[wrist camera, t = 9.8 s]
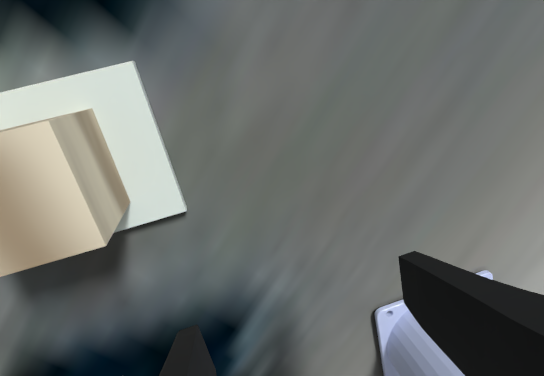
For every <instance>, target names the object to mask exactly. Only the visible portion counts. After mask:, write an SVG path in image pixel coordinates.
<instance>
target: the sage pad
mask: <svg viewBox="0 0 544 376" xmlns="http://www.w3.org/2000/svg"><path fill="white" fill-rule="evenodd" d="M90 108H92V109H93V111H94V114H95V116H96V119H97V121H98V124H99V126H100V128H101V131H102V133H103V136H104V138H105V141H106V143H107V146H108V148H109V151H110V153H111V155H112V158H113V160H114V163H115V165H116V168H117V170H118V173H119V175H120V177H121V180H122V182H123V185H124V187H125V190H126V192H127V195H128V197H129V199H130V203H129V205H128V207H127V209H126V211H125V213H124V214H123V216H122V218H121V220H120V222H119V224H118V225H117V227H116V229H115V231H114V233H115V232H118V231H121V230H125V229H128V228H131V227H135V226H138V225H142V224H145V223H148V222H152V221H155V220H158V219H162V218H165V217H168V216H172V215H175V214H179V213H182V212H185V211H187V206H186V203H185V201H184V198H183V195H182V192H181V190H180V187H179V184H178V181H177V178H176V176H175V173H174V170H173V167H172V164H171V162H170V159H169V156H168V153H167V151H166V148H165V145H164V142H163V139H162V137H161V134H160V131H159V128H158V125H157V123H156V120H155V117H154V114H153V111H152V109H151V106H150V103H149V100H148V98H147V95H146V92H145V89H144V86H143V84H142V81H141V78H140V75H139V72H138V70H137V67H136V64H135V61H130V62H126V63H122V64H117V65H113V66H109V67H105V68H101V69H97V70H92V71H88V72H84V73H80V74H76V75H72V76H68V77H63V78H59V79H55V80H51V81H47V82H43V83H38V84H34V85H30V86H26V87H22V88H18V89H13V90H9V91H5V92H1V93H0V130H3V129H7V128H12V127H16V126H20V125H24V124H28V123H32V122H36V121H41V120H45V119H49V118H53V117H57V116H61V115H66V114H70V113H74V112H78V111H82V110H86V109H90Z"/></svg>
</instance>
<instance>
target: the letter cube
mask: <svg viewBox="0 0 544 376" xmlns="http://www.w3.org/2000/svg"><path fill="white" fill-rule="evenodd" d="M129 203H130V199H129V197H128V195H127V192H126V190H125V187H124V185H123V182H122V180H121V177H120V175H119V173H118V170H117V168H116V165H115V163H114V160H113V158H112V155H111V153H110V151H109V148H108V146H107V143H106V141H105V138H104V136H103V133H102V131H101V128H100V126H99V124H98V121H97V119H96V116H95V114H94V111H93V109H92V108H90V109H86V110H82V111H78V112H74V113H70V114H66V115H61V116H57V117H53V118H49V119H45V120H41V121H36V122H32V123H28V124H24V125H20V126H16V127H12V128H7V129H3V130H0V277H1V276H5V275H8V274H12V273H15V272H18V271H22V270H25V269H29V268H32V267H36V266H39V265H43V264H46V263H49V262H53V261H56V260H60V259H63V258H67V257H70V256H74V255H77V254H80V253H84V252H87V251H91V250H94V249H98V248H101V247H105V246H106V245H107V244H108V242H109V240H110V238H111V236H112V234H113V233H114V231H115V229H116V227H117V225H118V224H119V222H120V220H121V218H122V216H123V214H124V213H125V211H126V209H127V207H128V205H129Z"/></svg>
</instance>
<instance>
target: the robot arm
mask: <svg viewBox="0 0 544 376" xmlns="http://www.w3.org/2000/svg"><path fill="white" fill-rule="evenodd" d="M399 265H400V273H401V282H402V291H403V300H400V301H397V302H394V303H391V304H389V305H386V306H383V307H380V308H378V309H377V310H376V311H375V321H376V328H377V334H378V340H379V347H380V353H381V360H382V366H383V373H384V376H544V295H541V294H538V293H534V292H530V291H526V290H523V289H520V288H516V287H513V286H510V285H507V284H504V283H501V282H497V281H494V280H493V276H492V274H491V273H490V272H489V271H486V270H485V271H481V272H478V273H476V274H474V273H472V272H469V271H466V270H463V269H461V268H458V267H456V266H453V265H450V264H448V263H445V262H443V261H440V260H437V259H435V258H432V257H430V256H427V255H424V254H421V253H419V252H416V251H413V252H410V253H407V254H404V255H401V256H399ZM388 311H389V312H388ZM387 312H388V313H387ZM159 376H216V369H215V367H214V364H213V362H212V359H211V357H210V355H209V352H208V350H207V347H206V345H205V342H204V340H203V337H202V335H201V332H200V330H199V327H198V325H195V326H192V327H189V328H186V329H183V330H180V331H179V332H178V334H177V335H176V338H175V340H174V343H173V345H172V347H171V350H170V352H169V354H168V357H167V359H166V361H165V363H164V366H163V368H162V370H161V372H160V374H159Z"/></svg>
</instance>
